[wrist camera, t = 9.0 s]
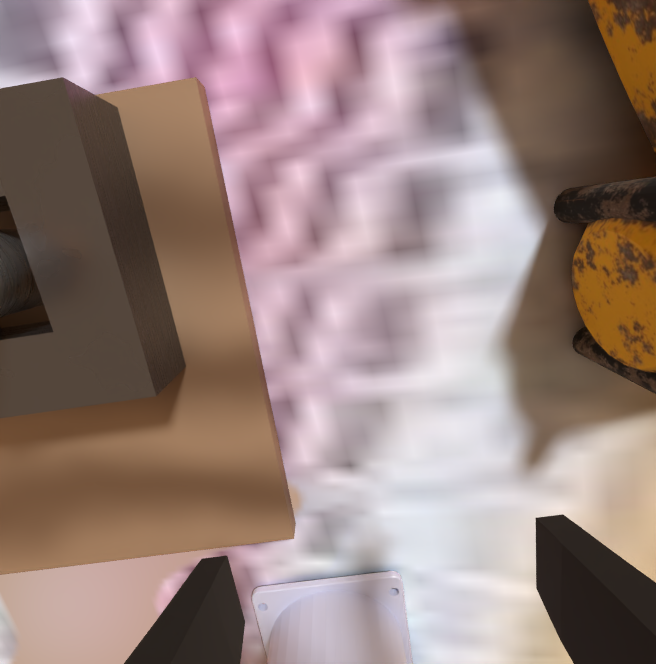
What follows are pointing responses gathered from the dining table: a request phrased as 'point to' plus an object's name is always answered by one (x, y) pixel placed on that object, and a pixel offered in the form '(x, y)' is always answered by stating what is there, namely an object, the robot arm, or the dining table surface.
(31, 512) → the walnut board
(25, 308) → the metal peg
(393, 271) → the dining table surface
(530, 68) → the dining table surface
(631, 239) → the power drill
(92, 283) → the socket block
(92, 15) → the dining table surface
